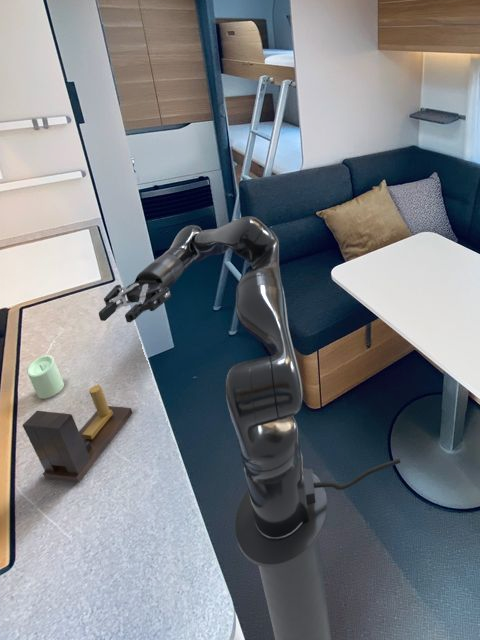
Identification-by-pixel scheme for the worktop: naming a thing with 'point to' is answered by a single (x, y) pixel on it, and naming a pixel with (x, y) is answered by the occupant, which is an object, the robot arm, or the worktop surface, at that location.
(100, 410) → the bolt
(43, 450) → the latch
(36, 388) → the candle
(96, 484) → the worktop surface
